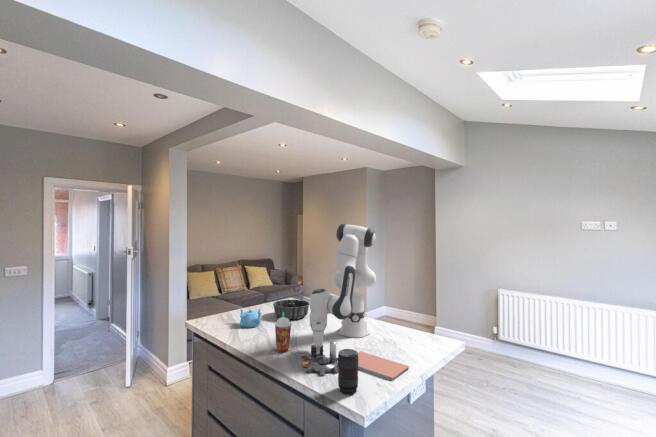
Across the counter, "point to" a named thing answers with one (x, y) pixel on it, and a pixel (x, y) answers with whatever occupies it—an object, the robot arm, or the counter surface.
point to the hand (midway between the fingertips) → (318, 350)
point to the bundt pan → (291, 308)
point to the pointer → (305, 357)
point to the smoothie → (282, 334)
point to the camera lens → (348, 371)
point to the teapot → (250, 318)
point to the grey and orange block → (313, 351)
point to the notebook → (380, 366)
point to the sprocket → (323, 362)
